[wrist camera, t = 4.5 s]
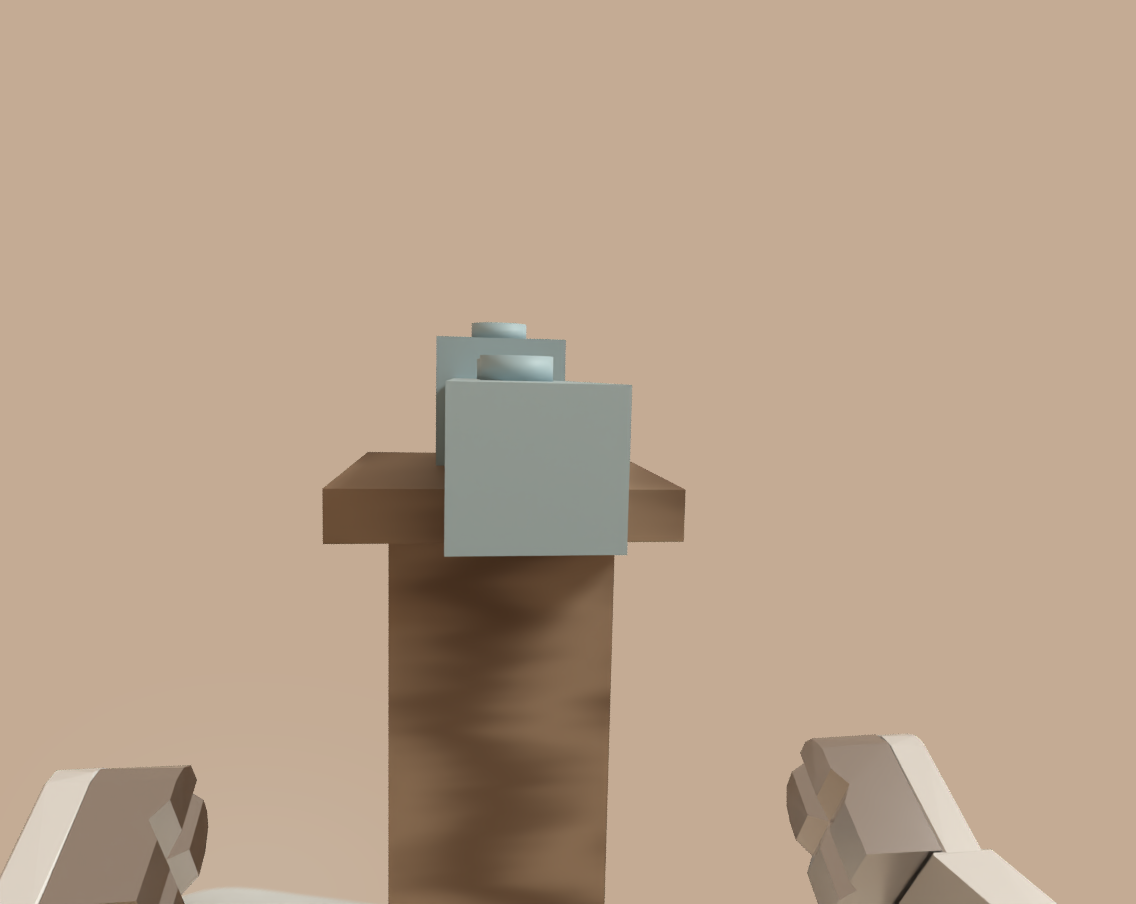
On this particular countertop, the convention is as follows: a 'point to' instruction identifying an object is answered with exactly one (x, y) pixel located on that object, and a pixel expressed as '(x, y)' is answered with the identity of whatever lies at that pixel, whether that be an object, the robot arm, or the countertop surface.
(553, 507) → the beam
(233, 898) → the countertop surface
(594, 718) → the stand
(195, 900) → the countertop surface
